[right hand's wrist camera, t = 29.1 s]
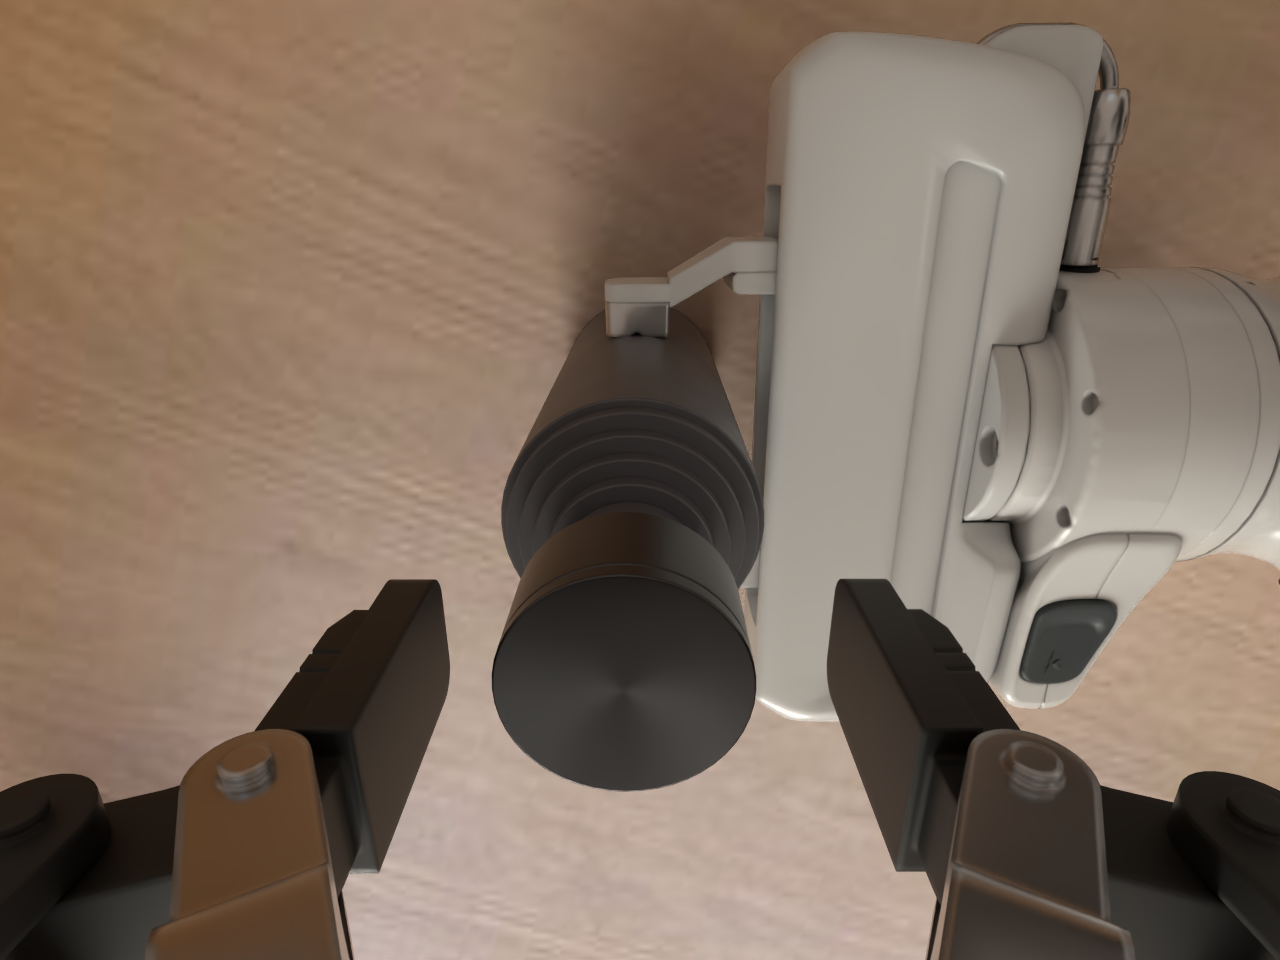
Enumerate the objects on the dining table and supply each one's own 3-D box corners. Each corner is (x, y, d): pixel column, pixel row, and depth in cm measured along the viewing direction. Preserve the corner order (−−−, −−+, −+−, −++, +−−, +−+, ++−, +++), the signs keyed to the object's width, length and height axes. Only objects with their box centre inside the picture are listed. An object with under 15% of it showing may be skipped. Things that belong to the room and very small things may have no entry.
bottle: (688, 457, 29) (741, 825, 12) (554, 421, 28) (416, 753, 12) (731, 323, 27) (867, 543, 10) (588, 282, 26) (479, 442, 10)
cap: (702, 721, 13) (712, 814, 11) (497, 676, 13) (470, 762, 11) (770, 541, 12) (793, 611, 10) (541, 485, 11) (519, 545, 9)
